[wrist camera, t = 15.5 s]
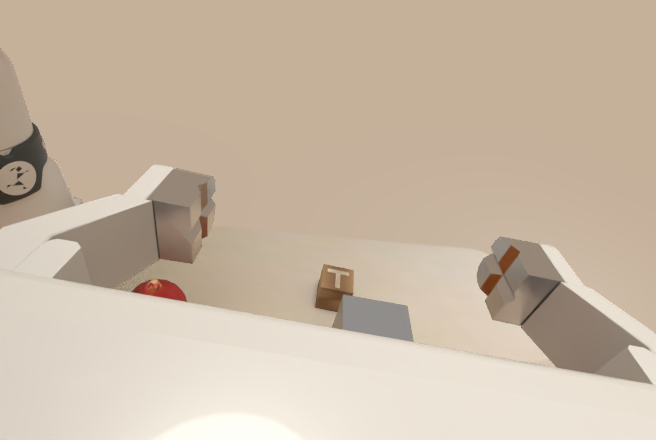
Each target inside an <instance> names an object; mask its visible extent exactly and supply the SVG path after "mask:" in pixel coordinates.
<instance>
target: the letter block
mask: <svg viewBox="0 0 656 440" xmlns="http://www.w3.org/2000/svg"><path fill="white" fill-rule="evenodd" d="M353 274H354V270H350V269H345V268H340V267H335V266H330V265H325V264H324V265H323V269H322V273H321V276H320V280H319V284H318V290H317V298H316V305H315V308H320V309H325V310H330V311H335V312H337V311H338V308H339V306H340V303H341V300H342V297H343V295H349V296H352V295H353Z"/></svg>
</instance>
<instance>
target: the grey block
mask: <svg viewBox="0 0 656 440" xmlns="http://www.w3.org/2000/svg"><path fill="white" fill-rule="evenodd" d="M332 328H337V329H342V330H348V331H354V332H359V333H365V334H371V335H376V336H382V337H388V338H393V339H399V340H405V341H410V342H413V336H412V330H411V324H410V319H409V313H408V307H407V306H406V305H400V304H394V303H389V302H383V301H377V300H372V299H366V298H360V297H354V296H349V295H343V297H342V300H341V303H340V306H339V308H338V311H337V314H336V317H335V320H334V323H333V326H332Z"/></svg>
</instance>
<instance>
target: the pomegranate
mask: <svg viewBox="0 0 656 440" xmlns="http://www.w3.org/2000/svg"><path fill="white" fill-rule="evenodd" d="M132 292H133V293H139V294H145V295H150V296H156V297H162V298H167V299H173V300H178V301H184V302H187V301H186V297H185V294H184V293H183V291H182V290H181V289H180V288H179V287H178V286H177V285H176V284H174V283H171V282H169V281H167V280H160V279H154V280H149V281H146V282H144V283H141V284H140V285H139V286H137V287H136V288H135V289H134V290H133V291H132Z"/></svg>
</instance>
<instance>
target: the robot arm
mask: <svg viewBox="0 0 656 440" xmlns="http://www.w3.org/2000/svg"><path fill="white" fill-rule="evenodd" d="M214 192H215V179H214V177H213V176H209V175H204V174H200V173H195V172H191V171H186V170H182V169H178V168H174V167H169V166H164V165H159V164H157V165H153V166H152V167H151V168H150V169H149V170H148V171H147V172H146V173H145V174H144V175H143V176H142V177H141V178H140V179H139V180H138V181H136V183H134V184H133V185H132V186H131V187H130V188H129V190H127V191H126V192H125V193H124V194H123V195H121V194H114V195H110V196H107V197H104V198H100V199H97V200H93V201H90V202H87V203H82V201H81V199H79V198H76V197H72V195H71V193H70V190H69V188H68V185H67V183H66V181H65V178H64V176H63V173H62V171H61V169H60V166H59V164H58V163H57V161H55V160H54V159H51V158H49V157H48V156H47V153H46V150H45V143H44V140H43V138H42V136H41V135H40V132H39V130H38V128H37V126H36V125H35V124H34V123H32V122H31V119H30V116H29V114H28V110H27V107H26V104H25V101H24V98H23V95H22V91H21V88H20V85H19V83H18V79H17V76H16V73H15V70H14V67H13V64H12V62H11V61H10V59H9V58H8V56H7V55H6V54H5V53H4V51H3V50H2V49H1V48H0V440H656V334H655V333H654V332H652V331H651V330H650V329H648V328H647V327H645V326H644V325H642V324H641V323H640V322H638V321H637V320H635V319H634V318H632V317H631V316H630V315H628V314H627V313H625V312H624V311H622V310H621V309H620V308H618V307H617V306H615V305H614V304H612V303H611V302H610V301H608V300H607V299H605V298H604V297H602V296H601V295H600V294H598V293H597V292H595V291H594V290H592V289H591V288H588V287H585V286H584V285H583V284H582V282H581V281H580V280H579V278H578V277H577V275H576V274H575V273H574V271H573V270H572V269H571V267H570V266H569V265H568V263H567V262H566V261H565V259H564V258H563V256H562V255H561V254H560V253H559V251H558V250H557V249H556V248H555V247H553V246H551V245H545V244H539V243H532V242H527V241H522V240H515V239H511V238H505V237H499V238H498V239H497V240H496V241H495V242H494V244H493V245H492V246H491V249H492V254H490V255H489V256H487V257H485V258H483V260H482V262H481V263H480V265H479V267H478V272H477V281H478V285H479V287H480V289H481V290H482V291H483V292H484V293H485V294H486V295H487V298H486V300H485V302H486V305H487V307H488V310H489V312H490V315H491V317H492V320H496V321H501V322H505V323H510V324H515V325H519V326H521V328H522V329H523V330H524V331H525V332H526V334H527V335H528V336H529V337H530V338H531V339H532V340H533V341H534V343H535V344H536V345H537V346H538V347H539V348H540V349H541V350H542V351H543V353H544V354H545V355H546V356H547V357H548V358H549V359H550V360H551V361H552V363H553V364H554V365H555V366H556V367H557V368H556V367H550V366H545V365H539V364H534V363H528V362H522V361H517V360H511V359H506V358H500V357H494V356H489V355H483V354H478V353H472V352H467V351H461V350H455V349H450V348H444V347H439V346H433V345H427V344H422V343H416V342H410V341H405V340H399V339H393V338H388V337H382V336H376V335H371V334H365V333H359V332H354V331H348V330H342V329H337V328H331V327H325V326H320V325H314V324H308V323H303V322H297V321H291V320H286V319H280V318H274V317H269V316H263V315H257V314H252V313H246V312H241V311H235V310H229V309H224V308H218V307H212V306H207V305H201V304H195V303H190V302H184V301H178V300H173V299H167V298H162V297H156V296H150V295H145V294H139V293H133V292H128V291H122V290H116V289H113V288H114V287H116V286H118V285H119V284H121V283H123V282H124V281H126V280H127V279H129V278H131V277H132V276H134V275H136V274H137V273H139V272H140V271H142V270H144V269H145V268H147V267H149V266H150V265H152V264H154V263H155V262H157V261H158V260H159V259H165V260H171V261H178V262H184V263H190V264H193V262H194V260H195V258H196V256H197V255H198V253H199V251H200V249H201V247H202V239H203V238H205V237H207V236H208V234H209V232H210V230H211V228H212V224H213V221H214V215H215V203H214V202H213V200H212V199H211V197H212V196H213V194H214Z"/></svg>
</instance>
